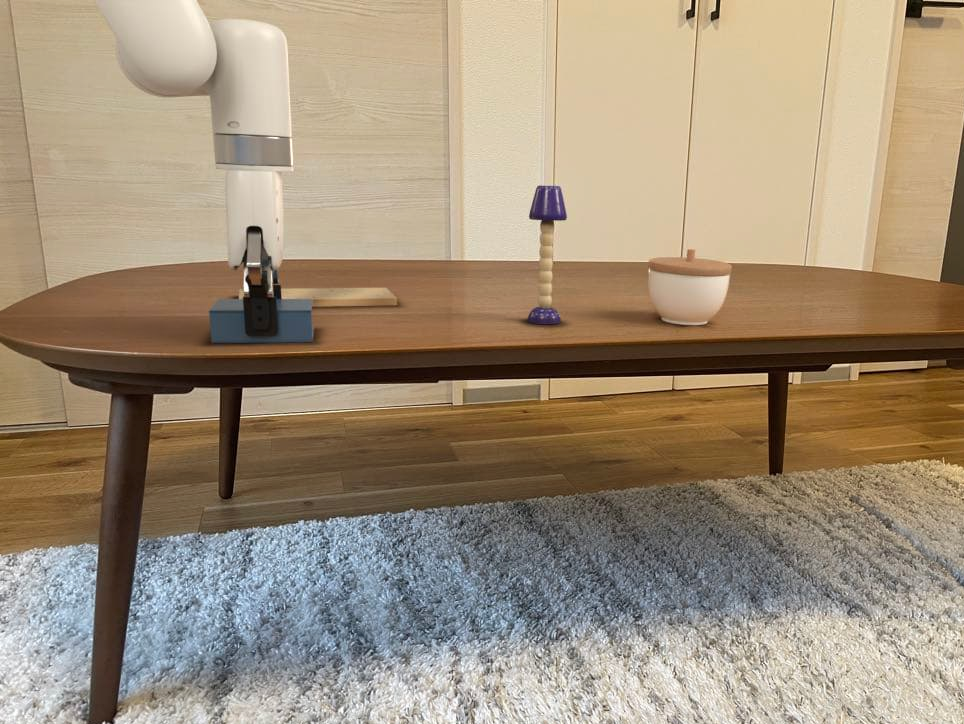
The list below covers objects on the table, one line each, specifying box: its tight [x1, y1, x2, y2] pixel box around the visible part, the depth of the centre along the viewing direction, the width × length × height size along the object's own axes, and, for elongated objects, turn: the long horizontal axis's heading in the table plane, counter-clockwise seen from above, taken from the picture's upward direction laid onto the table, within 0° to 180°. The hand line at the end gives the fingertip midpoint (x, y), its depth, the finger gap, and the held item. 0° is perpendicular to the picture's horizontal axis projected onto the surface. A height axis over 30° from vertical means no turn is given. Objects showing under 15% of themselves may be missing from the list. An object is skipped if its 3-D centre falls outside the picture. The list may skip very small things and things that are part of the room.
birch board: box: [238, 287, 398, 308], centre depth 106 cm, size 20×9×1 cm, turn 109°
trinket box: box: [647, 248, 733, 326], centre depth 102 cm, size 11×11×9 cm
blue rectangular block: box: [208, 298, 315, 344], centre depth 84 cm, size 10×7×3 cm
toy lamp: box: [527, 185, 568, 325], centre depth 97 cm, size 5×5×17 cm
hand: (265, 326), depth 84 cm, fingers closed on blue rectangular block, 7 cm apart
